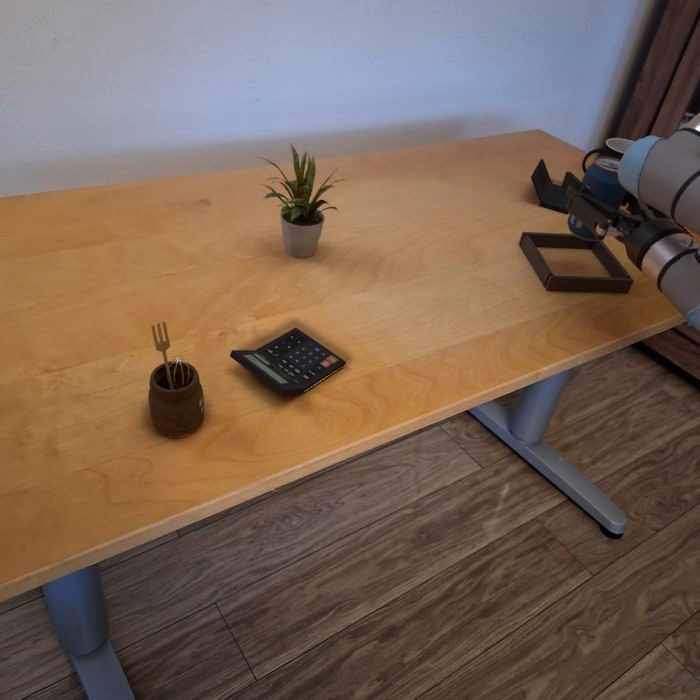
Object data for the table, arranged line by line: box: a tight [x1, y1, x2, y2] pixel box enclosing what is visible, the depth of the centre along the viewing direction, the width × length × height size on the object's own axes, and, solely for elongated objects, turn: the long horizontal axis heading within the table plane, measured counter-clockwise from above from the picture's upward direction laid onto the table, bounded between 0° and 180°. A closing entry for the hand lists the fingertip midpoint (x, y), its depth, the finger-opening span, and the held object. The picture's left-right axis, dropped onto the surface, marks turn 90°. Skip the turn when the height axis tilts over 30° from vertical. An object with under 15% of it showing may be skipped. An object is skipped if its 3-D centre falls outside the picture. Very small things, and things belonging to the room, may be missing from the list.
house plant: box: [256, 143, 348, 259], centre depth 97 cm, size 14×14×16 cm
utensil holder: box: [147, 320, 205, 438], centre depth 67 cm, size 6×6×12 cm
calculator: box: [229, 327, 347, 397], centre depth 79 cm, size 9×12×3 cm
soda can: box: [567, 155, 627, 241], centre depth 99 cm, size 7×7×12 cm
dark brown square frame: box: [518, 231, 635, 294], centre depth 107 cm, size 15×15×2 cm
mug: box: [581, 137, 636, 174], centre depth 131 cm, size 12×9×10 cm
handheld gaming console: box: [530, 158, 570, 215], centre depth 127 cm, size 12×7×10 cm
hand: (586, 179), depth 102 cm, fingers closed on soda can, 7 cm apart
